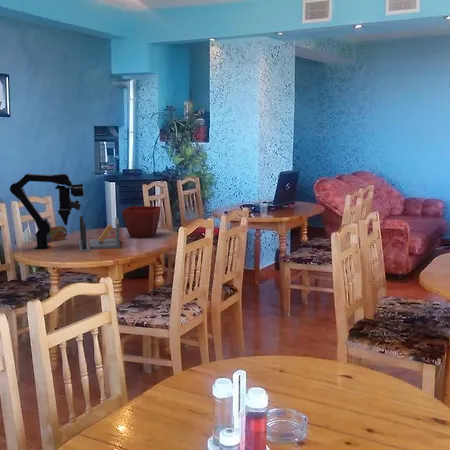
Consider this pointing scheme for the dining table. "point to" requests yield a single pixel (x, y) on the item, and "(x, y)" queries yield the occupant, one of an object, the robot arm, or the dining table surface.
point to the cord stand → (83, 237)
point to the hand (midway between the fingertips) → (65, 225)
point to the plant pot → (142, 220)
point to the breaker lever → (105, 233)
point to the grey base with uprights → (107, 240)
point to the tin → (57, 233)
